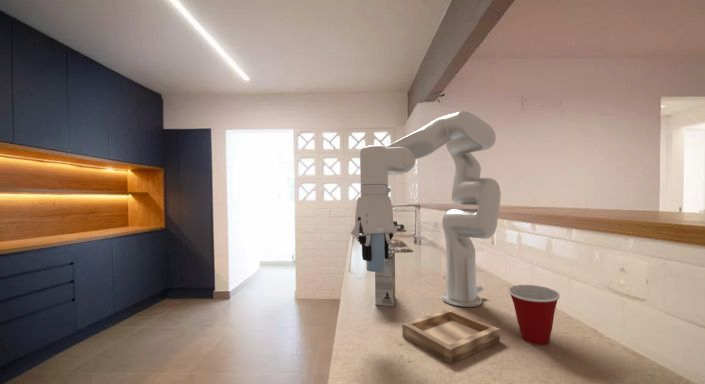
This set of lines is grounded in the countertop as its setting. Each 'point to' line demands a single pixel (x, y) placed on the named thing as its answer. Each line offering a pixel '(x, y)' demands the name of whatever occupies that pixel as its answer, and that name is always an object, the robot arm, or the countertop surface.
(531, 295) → the plastic cup
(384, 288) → the coffee box
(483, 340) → the tray
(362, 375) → the countertop surface
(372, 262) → the shaker
